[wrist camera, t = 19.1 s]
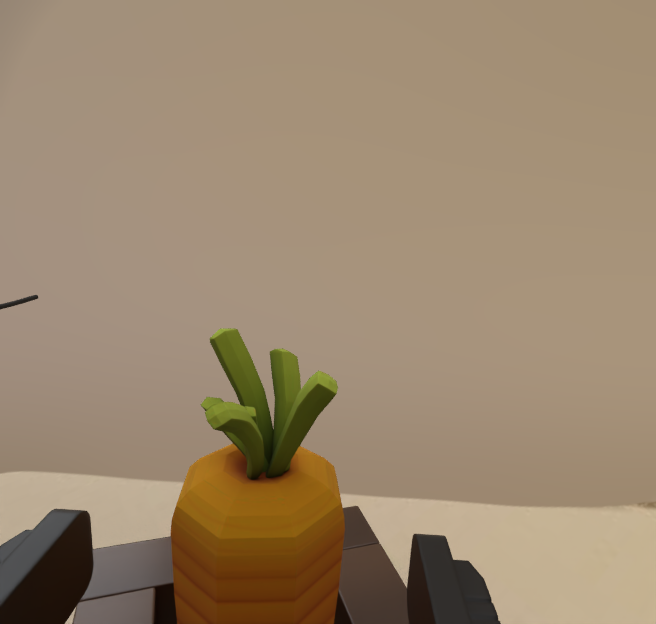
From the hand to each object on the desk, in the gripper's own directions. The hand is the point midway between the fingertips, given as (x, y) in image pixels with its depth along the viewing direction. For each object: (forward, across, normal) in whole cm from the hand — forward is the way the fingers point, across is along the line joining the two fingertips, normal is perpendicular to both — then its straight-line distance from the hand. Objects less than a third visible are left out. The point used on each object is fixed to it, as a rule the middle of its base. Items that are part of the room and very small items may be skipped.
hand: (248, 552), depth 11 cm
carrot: (+2, 0, +10) cm, 10 cm away
